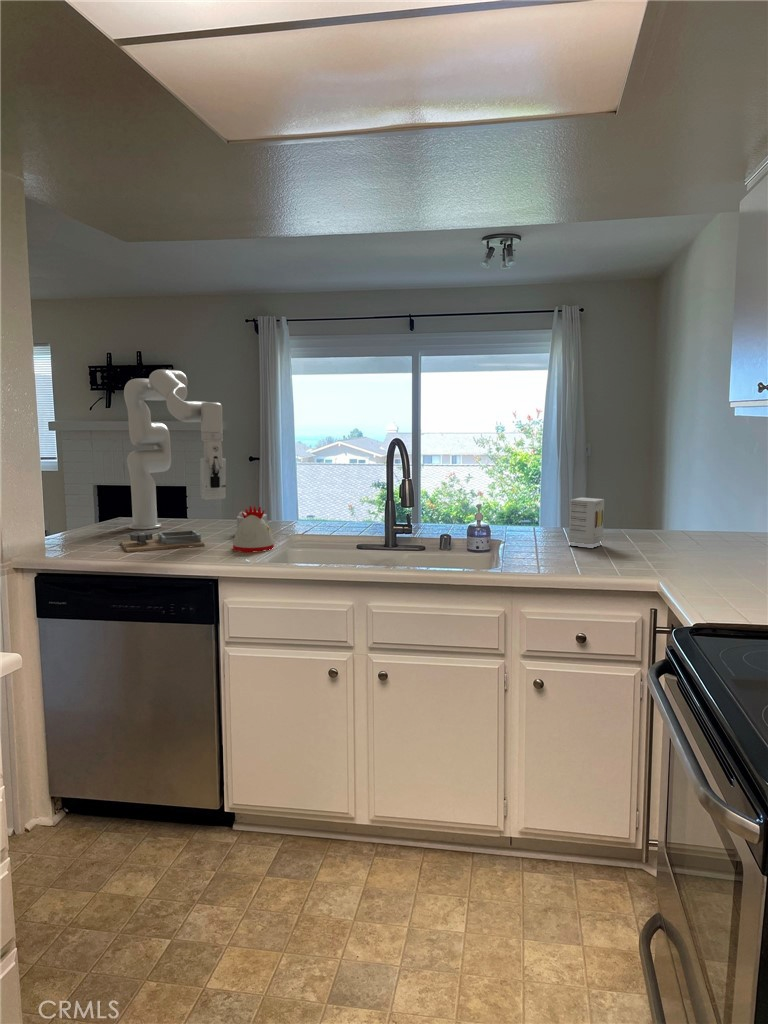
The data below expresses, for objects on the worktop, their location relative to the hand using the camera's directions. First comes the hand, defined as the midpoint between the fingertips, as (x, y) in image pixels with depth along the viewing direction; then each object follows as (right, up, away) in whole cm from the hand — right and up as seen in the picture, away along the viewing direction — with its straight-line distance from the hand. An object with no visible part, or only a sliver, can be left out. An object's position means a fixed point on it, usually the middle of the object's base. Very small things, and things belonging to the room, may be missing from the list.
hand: (213, 486), depth 261 cm
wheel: (-23, -19, -9) cm, 31 cm away
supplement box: (+134, -22, -6) cm, 136 cm away
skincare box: (0, -5, +1) cm, 5 cm away
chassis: (-17, -21, -6) cm, 28 cm away
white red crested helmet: (+17, -22, -12) cm, 31 cm away
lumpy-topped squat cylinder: (+11, -18, +17) cm, 27 cm away
